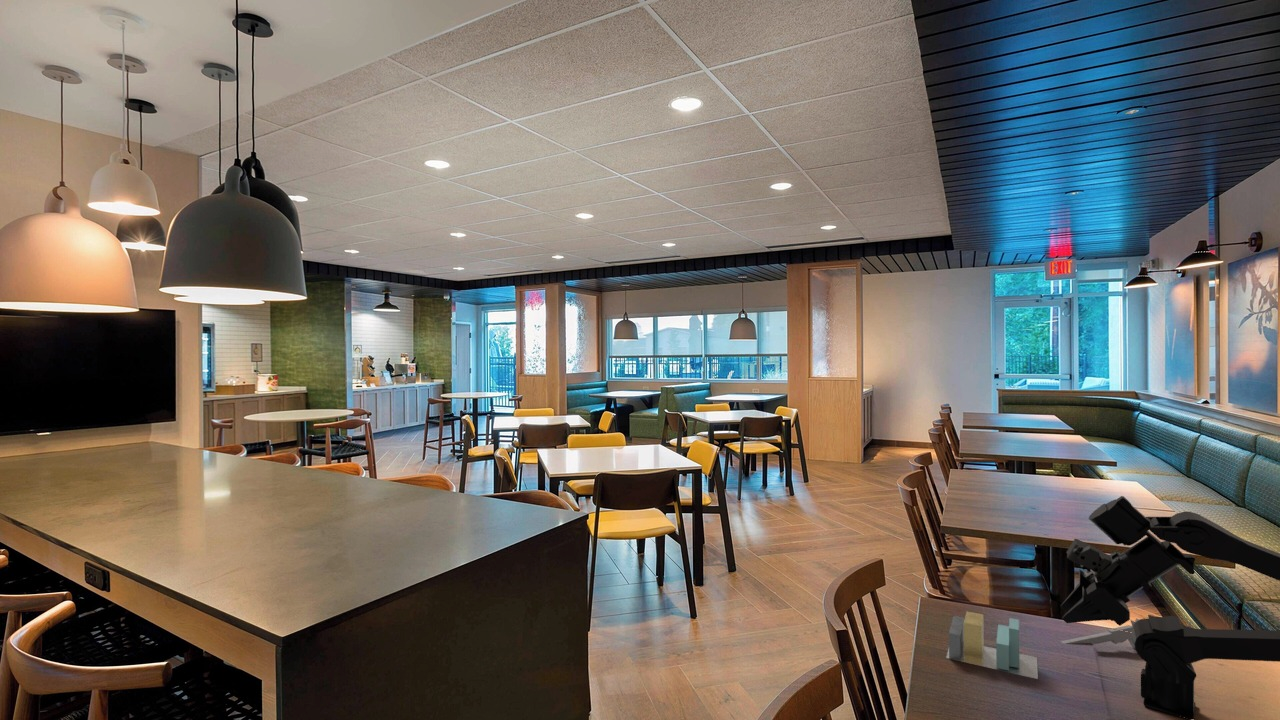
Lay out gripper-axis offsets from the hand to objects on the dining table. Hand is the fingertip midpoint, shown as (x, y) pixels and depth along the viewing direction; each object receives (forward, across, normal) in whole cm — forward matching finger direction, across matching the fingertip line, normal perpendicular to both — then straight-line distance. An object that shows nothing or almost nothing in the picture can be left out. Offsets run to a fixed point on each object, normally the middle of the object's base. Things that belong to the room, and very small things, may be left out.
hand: (1063, 614), depth 112 cm
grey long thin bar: (+5, -18, +14) cm, 23 cm away
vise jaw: (+14, 0, +1) cm, 14 cm away
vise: (+17, 0, +1) cm, 17 cm away
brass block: (+18, 0, -3) cm, 18 cm away
